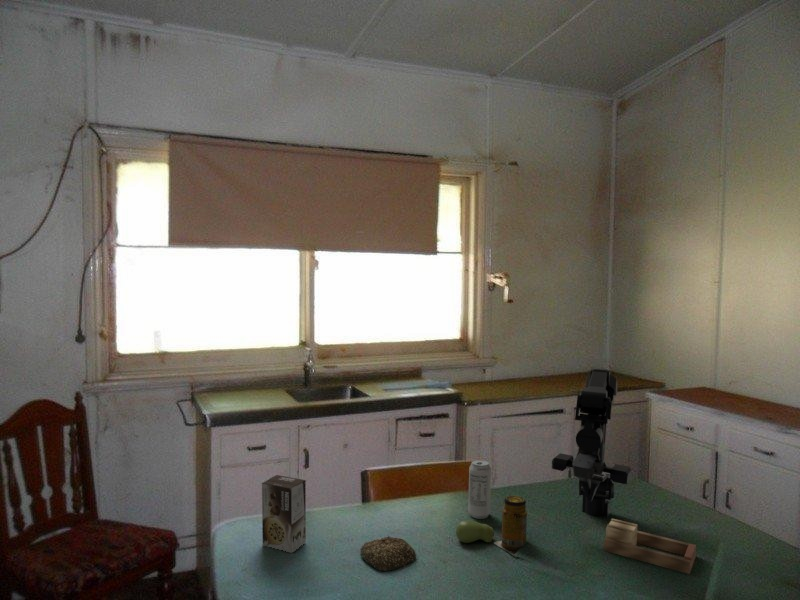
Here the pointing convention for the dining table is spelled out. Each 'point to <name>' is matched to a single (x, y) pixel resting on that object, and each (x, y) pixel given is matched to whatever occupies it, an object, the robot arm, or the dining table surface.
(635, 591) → the dining table surface
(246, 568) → the dining table surface
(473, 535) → the pear
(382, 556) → the bread roll
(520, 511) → the condiment
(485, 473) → the energy drink can
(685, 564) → the bay
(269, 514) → the coffee box
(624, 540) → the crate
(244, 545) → the dining table surface
